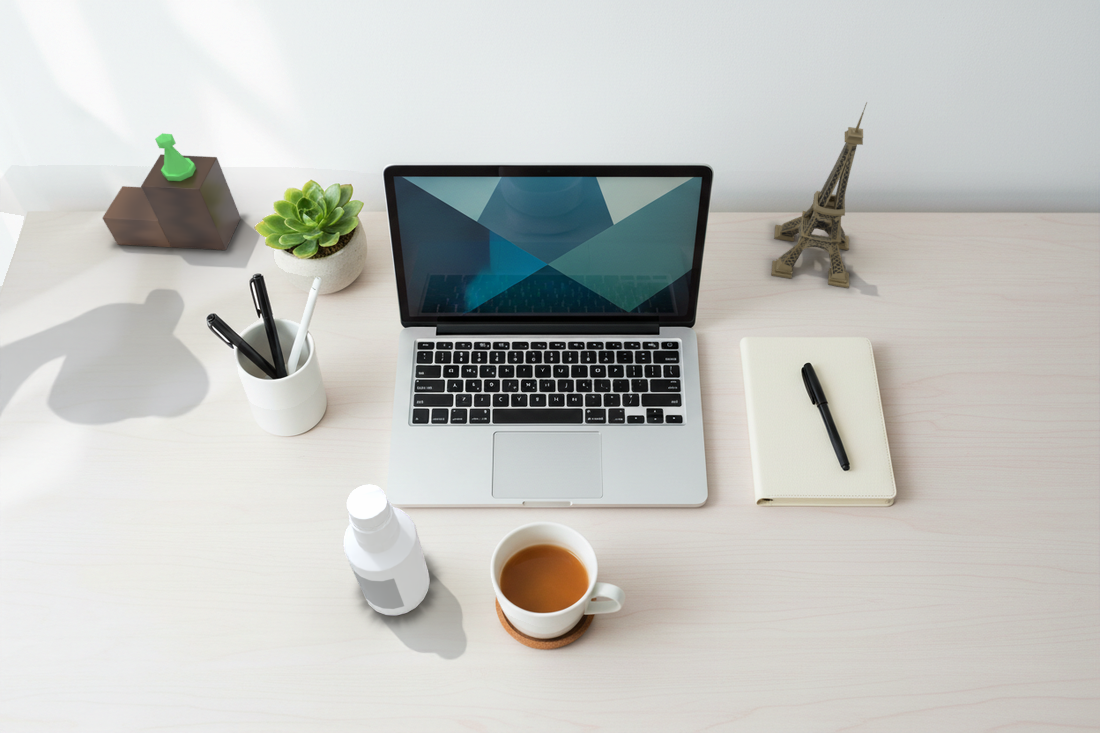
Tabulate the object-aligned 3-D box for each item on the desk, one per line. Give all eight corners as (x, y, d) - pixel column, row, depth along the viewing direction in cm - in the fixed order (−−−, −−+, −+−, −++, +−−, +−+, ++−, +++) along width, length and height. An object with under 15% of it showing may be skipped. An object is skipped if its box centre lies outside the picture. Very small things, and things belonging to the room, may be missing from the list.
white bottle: (365, 557, 83) (328, 470, 69) (429, 551, 83) (406, 463, 69) (362, 620, 79) (323, 541, 65) (430, 613, 79) (406, 533, 65)
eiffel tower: (847, 237, 115) (910, 83, 95) (848, 287, 108) (915, 134, 89) (775, 226, 116) (822, 72, 96) (771, 275, 110) (820, 121, 90)
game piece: (197, 177, 105) (181, 140, 100) (163, 184, 104) (145, 146, 99) (194, 159, 107) (179, 121, 103) (162, 165, 106) (144, 127, 102)
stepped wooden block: (117, 244, 113) (81, 183, 104) (136, 212, 117) (103, 151, 108) (225, 250, 112) (199, 189, 103) (241, 217, 116) (216, 156, 108)
